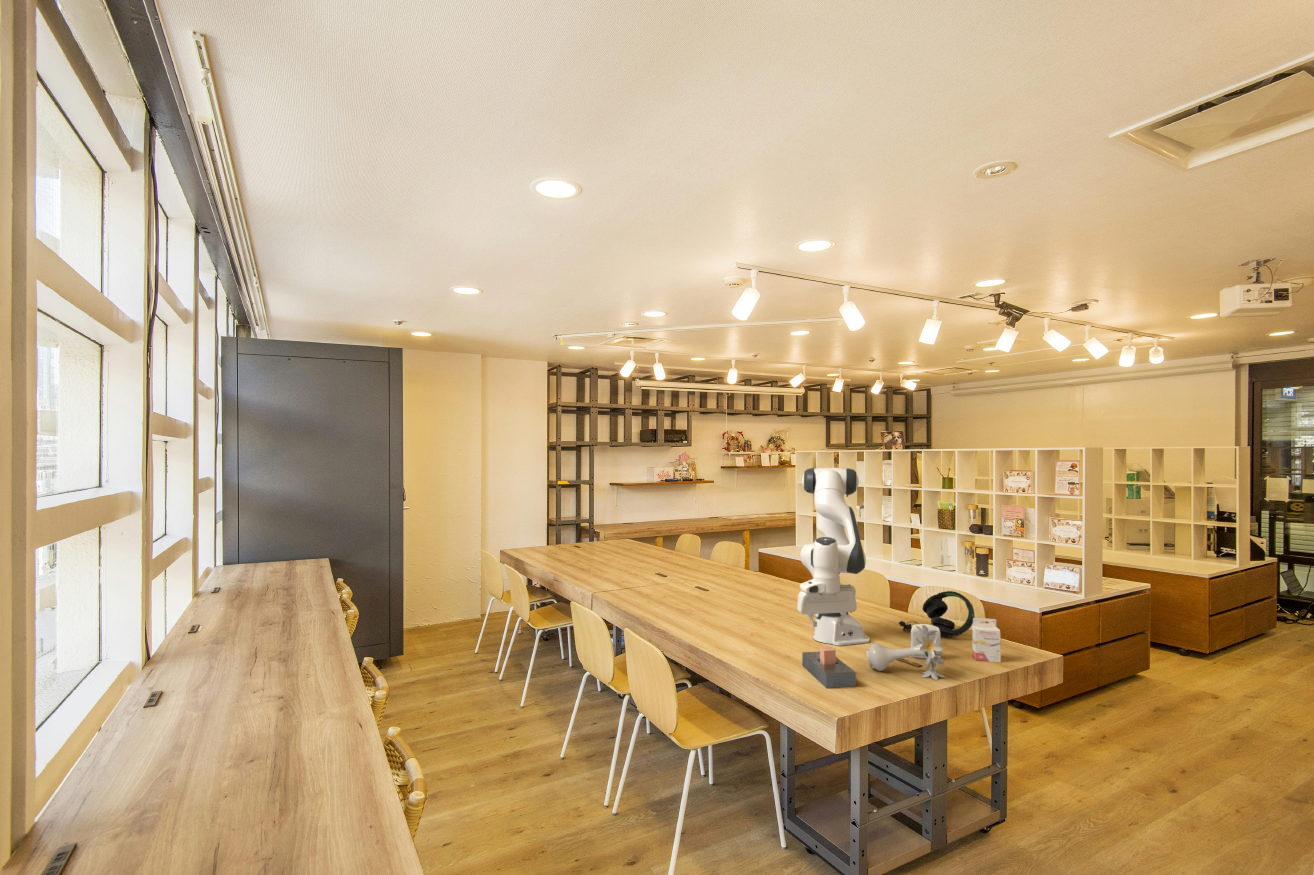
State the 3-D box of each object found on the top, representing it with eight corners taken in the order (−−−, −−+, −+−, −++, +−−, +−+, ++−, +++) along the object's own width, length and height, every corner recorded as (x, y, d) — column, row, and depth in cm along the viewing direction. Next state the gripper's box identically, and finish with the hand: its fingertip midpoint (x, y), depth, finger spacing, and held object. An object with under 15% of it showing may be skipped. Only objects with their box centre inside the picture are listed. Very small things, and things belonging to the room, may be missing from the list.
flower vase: (876, 693, 213) (953, 683, 205) (861, 644, 212) (938, 631, 204) (875, 674, 225) (947, 664, 217) (860, 627, 224) (932, 615, 216)
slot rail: (829, 664, 223) (828, 651, 223) (855, 686, 201) (855, 672, 202) (802, 665, 222) (802, 652, 222) (826, 688, 200) (826, 673, 200)
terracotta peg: (831, 670, 214) (830, 646, 214) (835, 674, 210) (835, 650, 210) (820, 670, 213) (819, 647, 214) (824, 674, 210) (824, 650, 210)
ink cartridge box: (975, 661, 227) (974, 620, 227) (972, 656, 232) (971, 617, 232) (1001, 662, 225) (1000, 622, 225) (997, 658, 230) (996, 618, 230)
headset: (918, 651, 265) (984, 629, 251) (903, 643, 258) (970, 619, 243) (905, 612, 277) (967, 589, 263) (890, 603, 270) (953, 579, 255)
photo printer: (940, 657, 231) (939, 624, 232) (941, 660, 227) (941, 627, 228) (910, 654, 234) (910, 621, 235) (911, 658, 230) (911, 624, 231)
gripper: (851, 582, 217) (852, 621, 217) (795, 584, 215) (796, 624, 214) (859, 586, 211) (860, 626, 211) (801, 588, 208) (802, 629, 208)
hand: (827, 625), depth 212 cm, fingers open, 8 cm apart
